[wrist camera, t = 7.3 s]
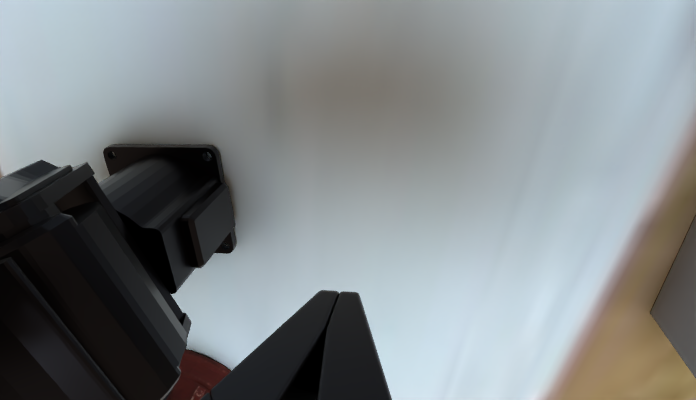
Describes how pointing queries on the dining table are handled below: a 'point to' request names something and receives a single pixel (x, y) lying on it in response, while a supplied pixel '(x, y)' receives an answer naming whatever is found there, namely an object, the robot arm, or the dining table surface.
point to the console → (680, 302)
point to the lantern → (197, 376)
